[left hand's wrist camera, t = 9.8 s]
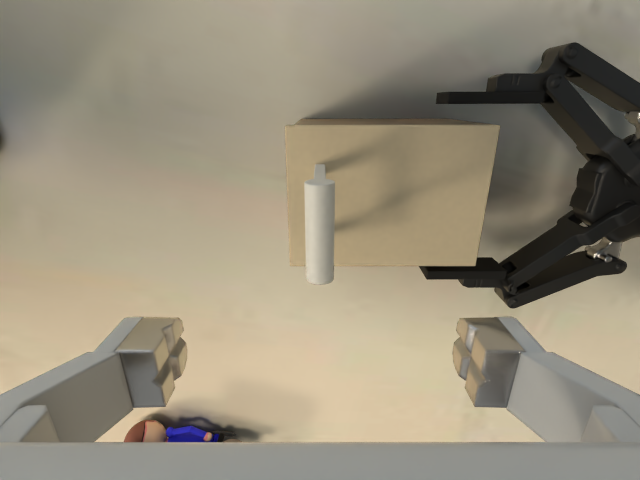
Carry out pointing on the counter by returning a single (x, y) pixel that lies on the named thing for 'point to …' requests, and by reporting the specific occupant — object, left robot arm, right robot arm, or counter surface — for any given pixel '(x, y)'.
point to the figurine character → (173, 434)
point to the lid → (386, 195)
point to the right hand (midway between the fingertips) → (431, 190)
